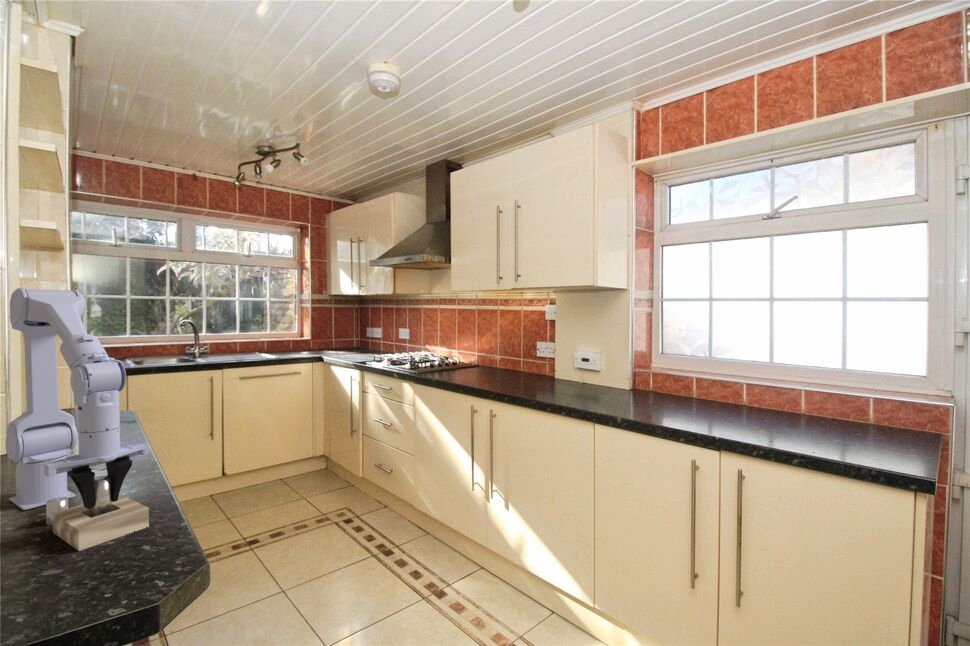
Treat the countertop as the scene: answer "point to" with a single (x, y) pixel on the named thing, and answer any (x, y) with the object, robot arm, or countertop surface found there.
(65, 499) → the short steel pin
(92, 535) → the birch board
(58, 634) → the countertop surface
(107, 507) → the long steel pin
